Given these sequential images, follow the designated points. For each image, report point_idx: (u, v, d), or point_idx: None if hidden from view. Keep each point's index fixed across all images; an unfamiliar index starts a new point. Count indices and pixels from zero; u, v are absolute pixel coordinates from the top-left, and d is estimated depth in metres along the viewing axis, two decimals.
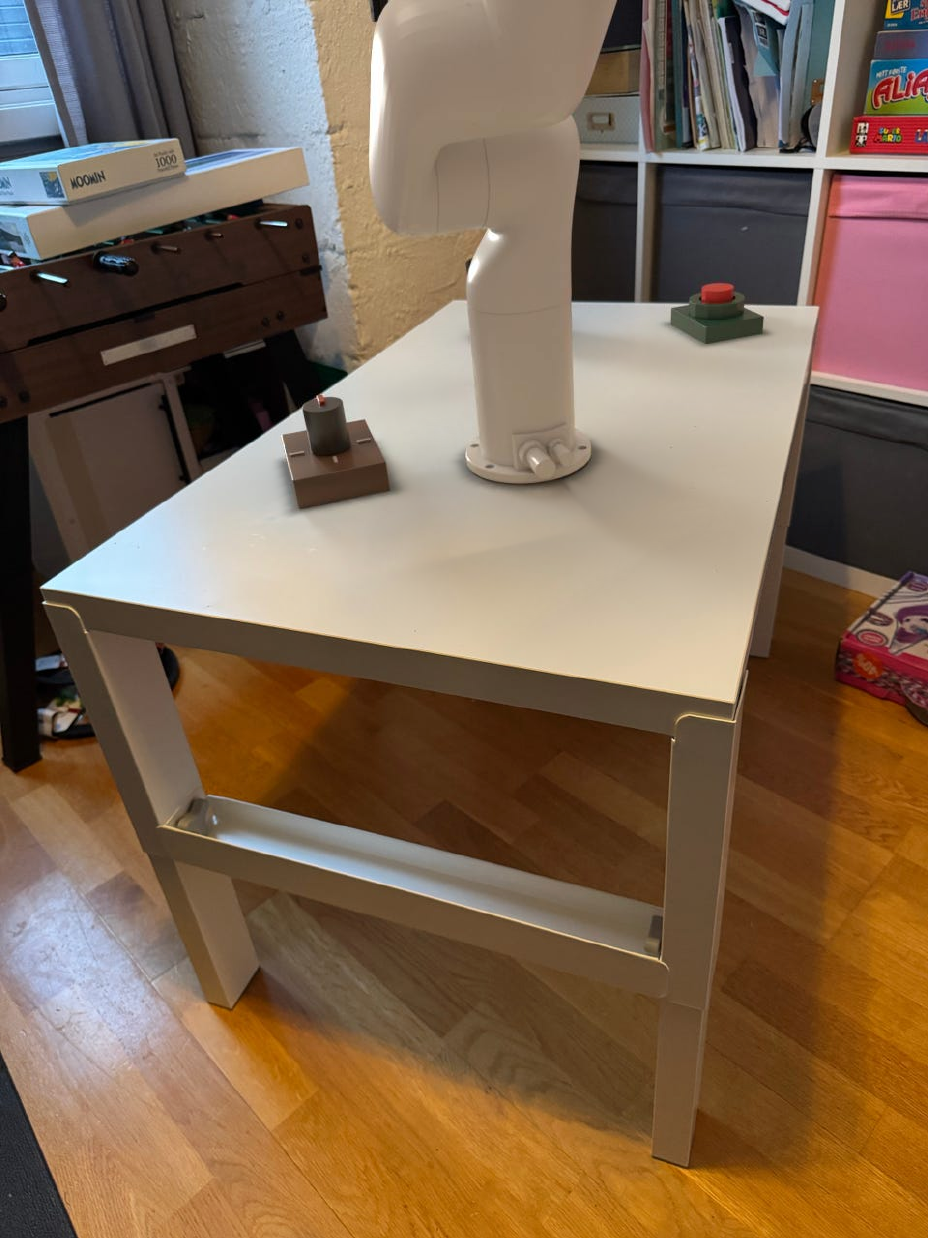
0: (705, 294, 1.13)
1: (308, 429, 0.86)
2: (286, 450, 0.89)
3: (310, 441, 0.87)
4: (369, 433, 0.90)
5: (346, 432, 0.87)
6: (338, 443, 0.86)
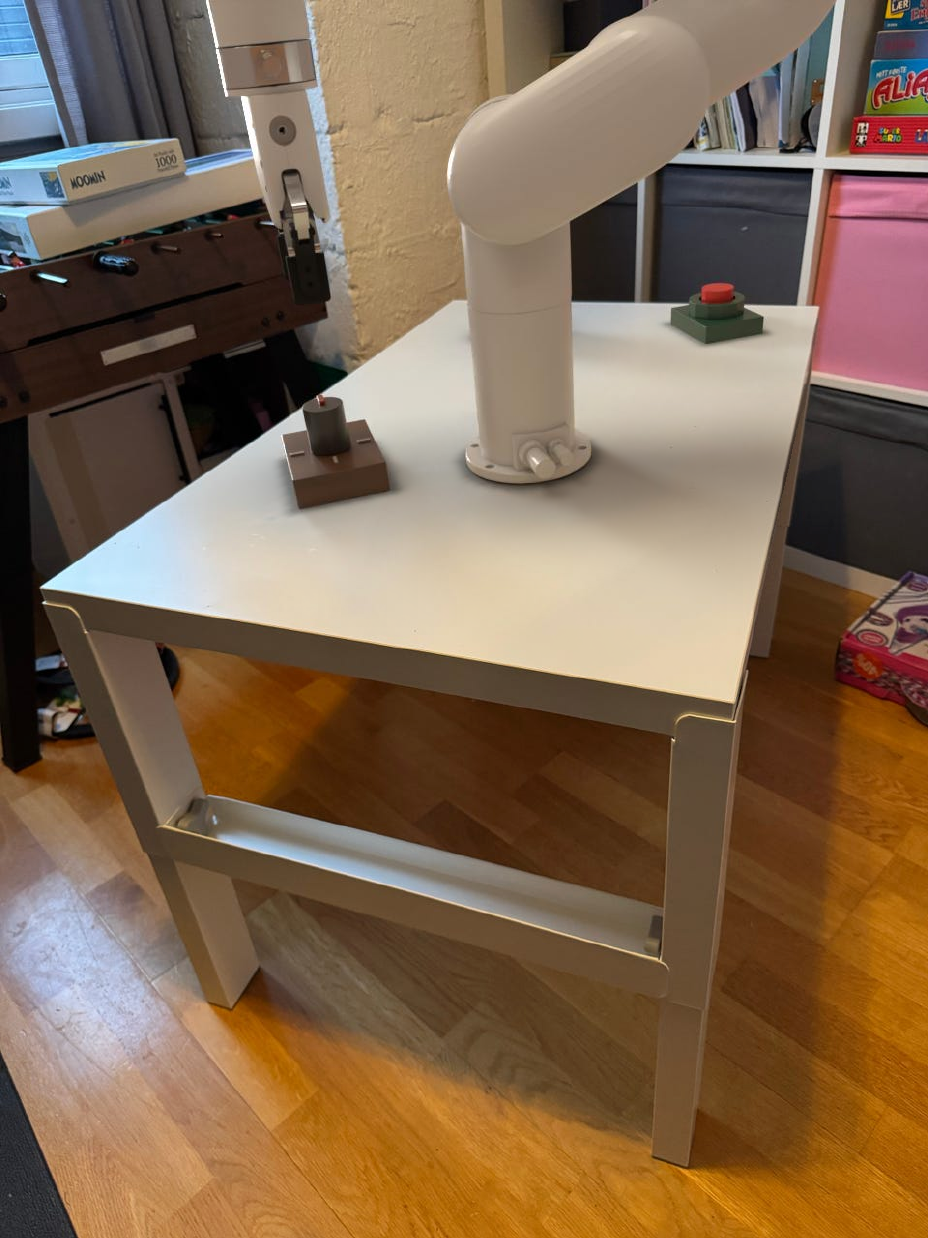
0: (705, 294, 1.13)
1: (308, 429, 0.86)
2: (286, 450, 0.89)
3: (310, 441, 0.87)
4: (369, 433, 0.90)
5: (346, 432, 0.87)
6: (338, 443, 0.86)
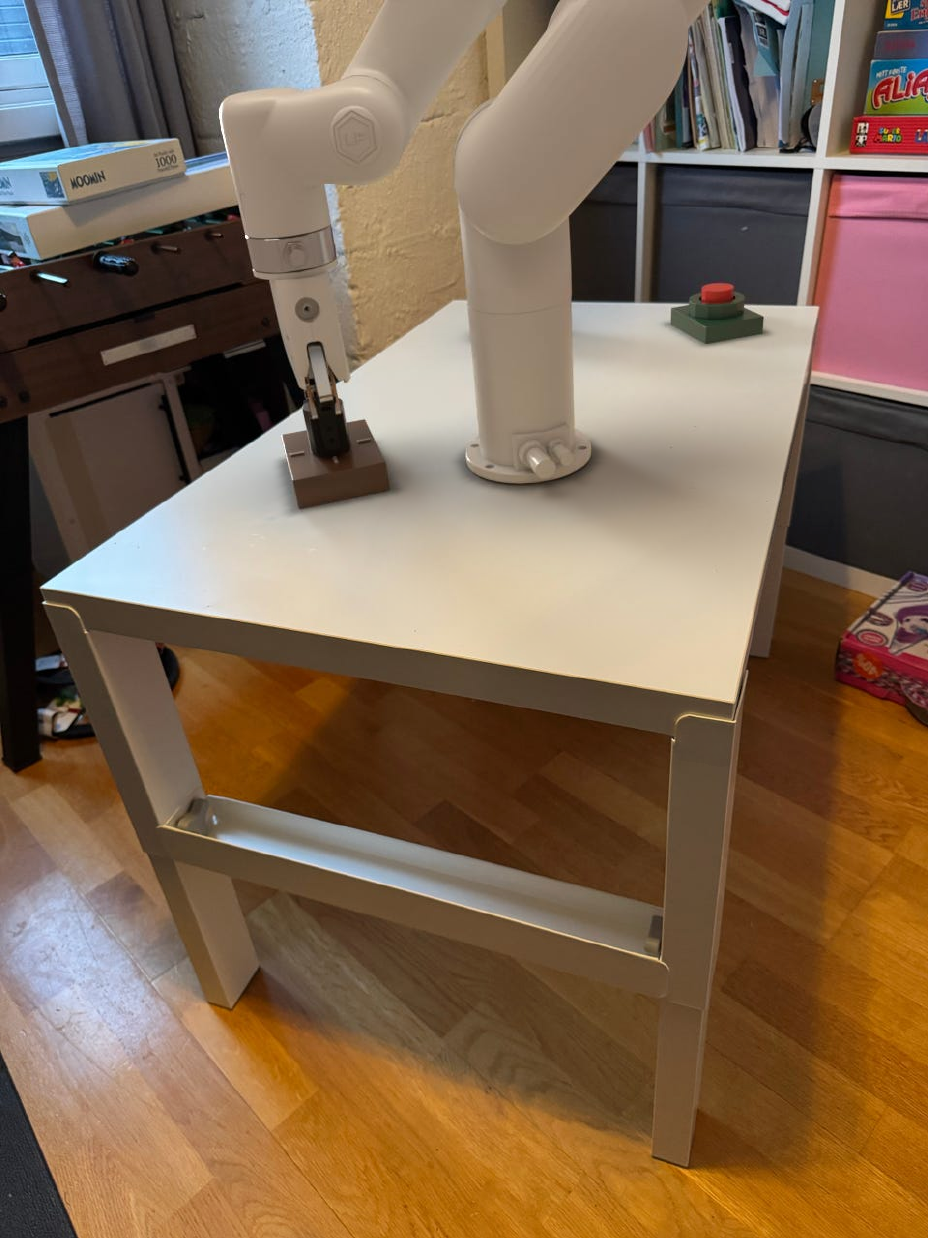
0: (705, 294, 1.13)
1: (308, 429, 0.86)
2: (286, 450, 0.89)
3: (310, 441, 0.87)
4: (369, 433, 0.90)
5: None
6: None
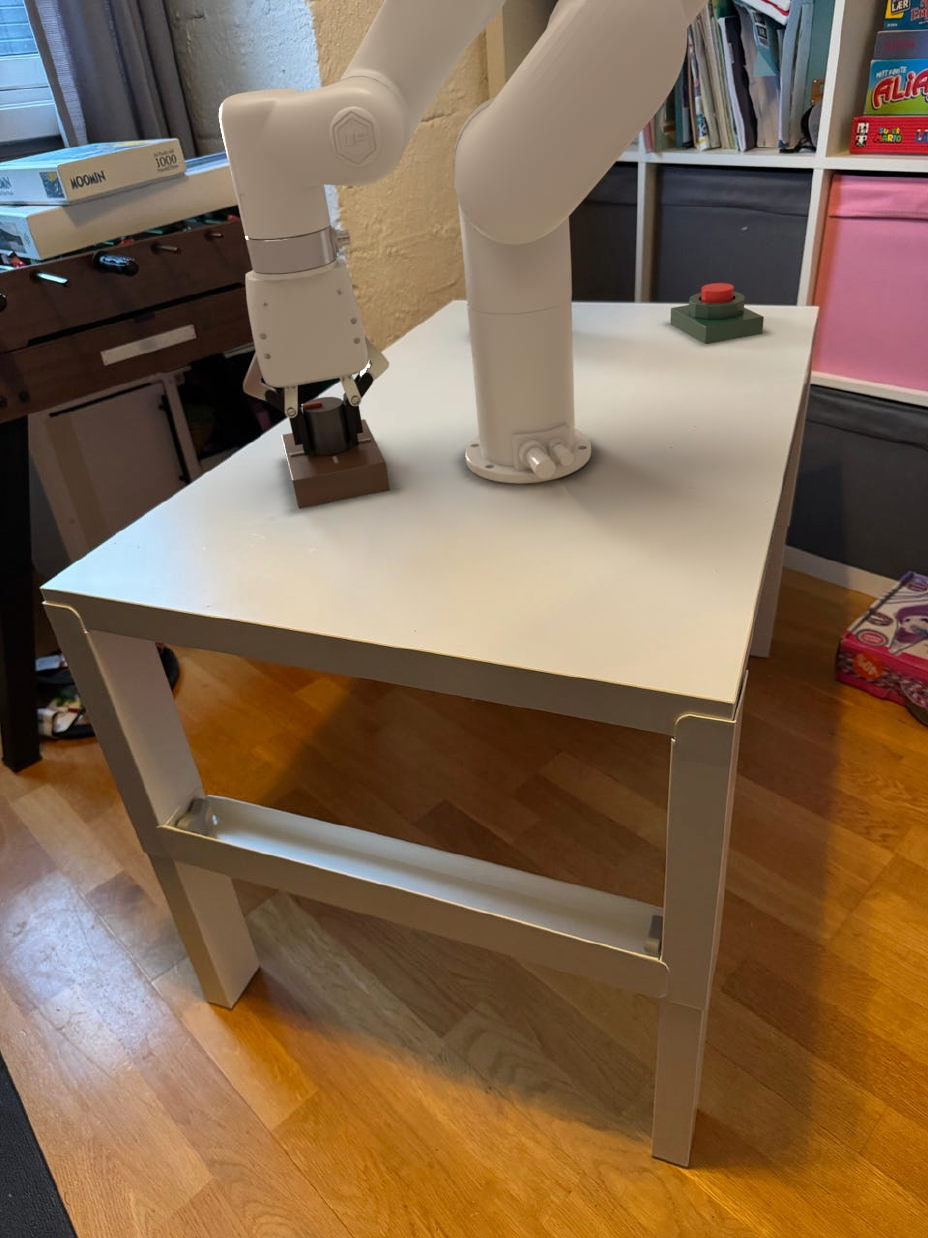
0: (705, 294, 1.13)
1: (336, 428, 0.85)
2: (286, 450, 0.89)
3: (338, 440, 0.86)
4: (369, 433, 0.90)
5: None
6: None
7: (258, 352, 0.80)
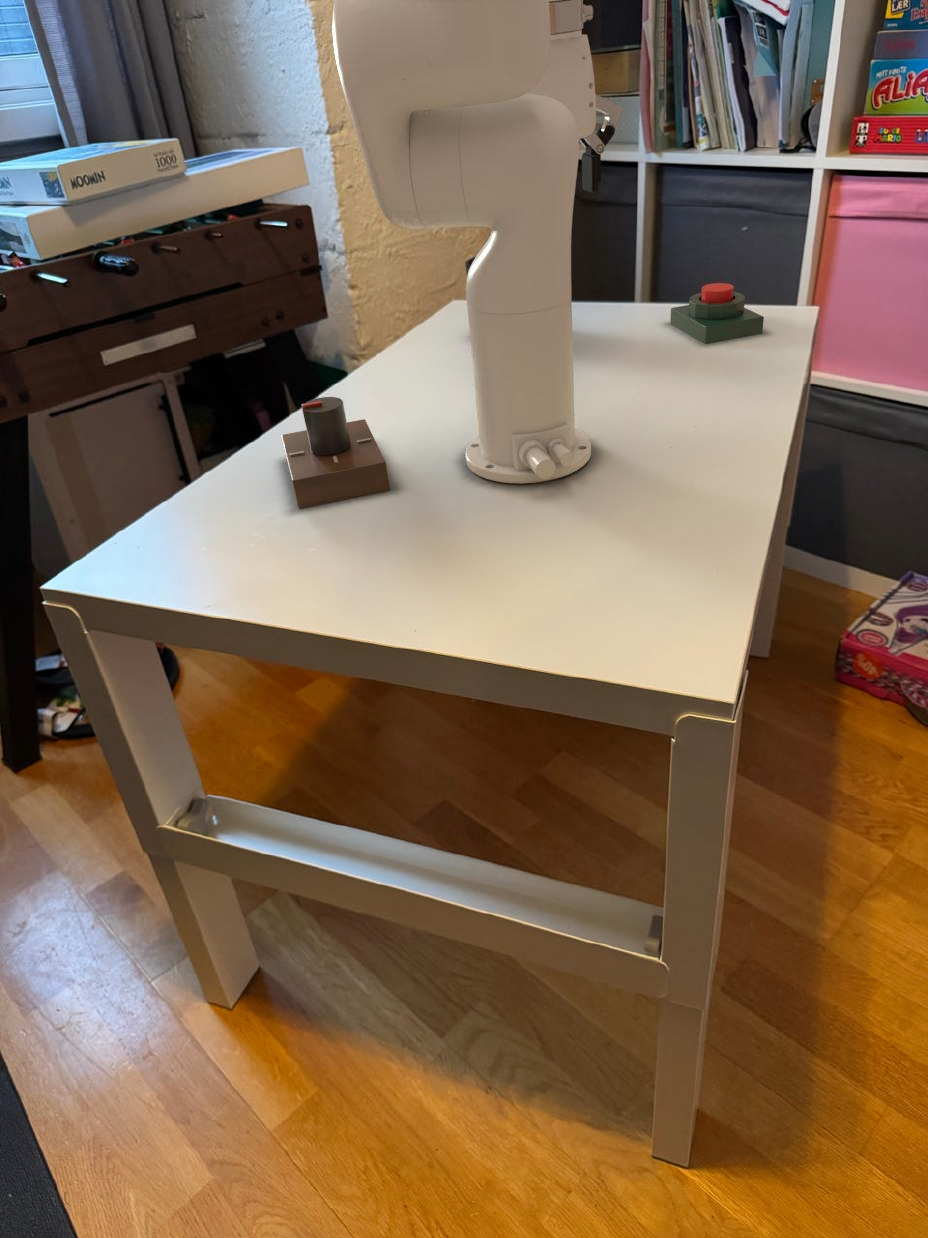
0: (705, 294, 1.13)
1: (336, 428, 0.85)
2: (286, 450, 0.89)
3: (338, 440, 0.86)
4: (369, 433, 0.90)
5: None
6: None
7: None
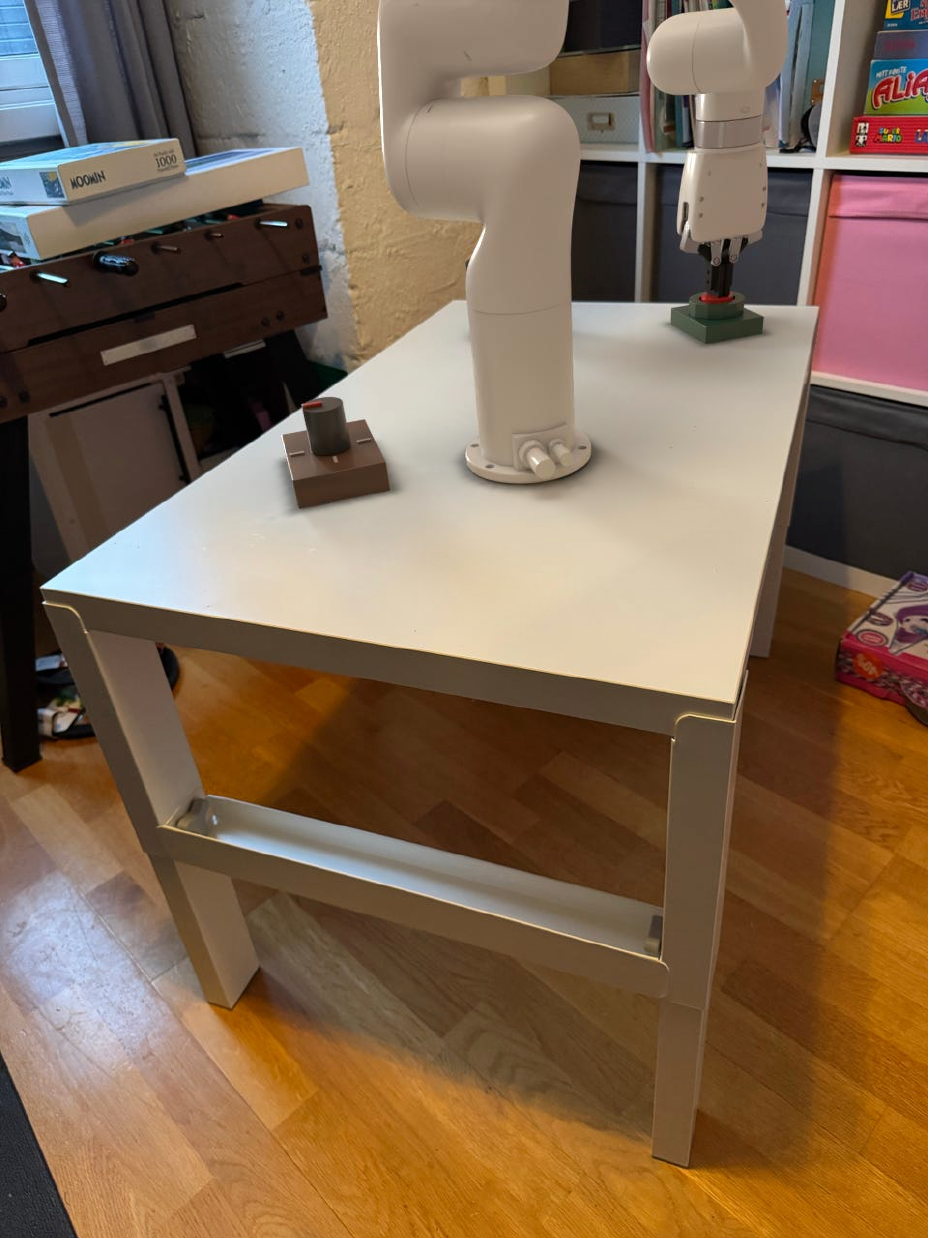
0: None
1: (336, 428, 0.85)
2: (286, 450, 0.89)
3: (338, 440, 0.86)
4: (369, 433, 0.90)
5: None
6: None
7: (693, 212, 1.06)
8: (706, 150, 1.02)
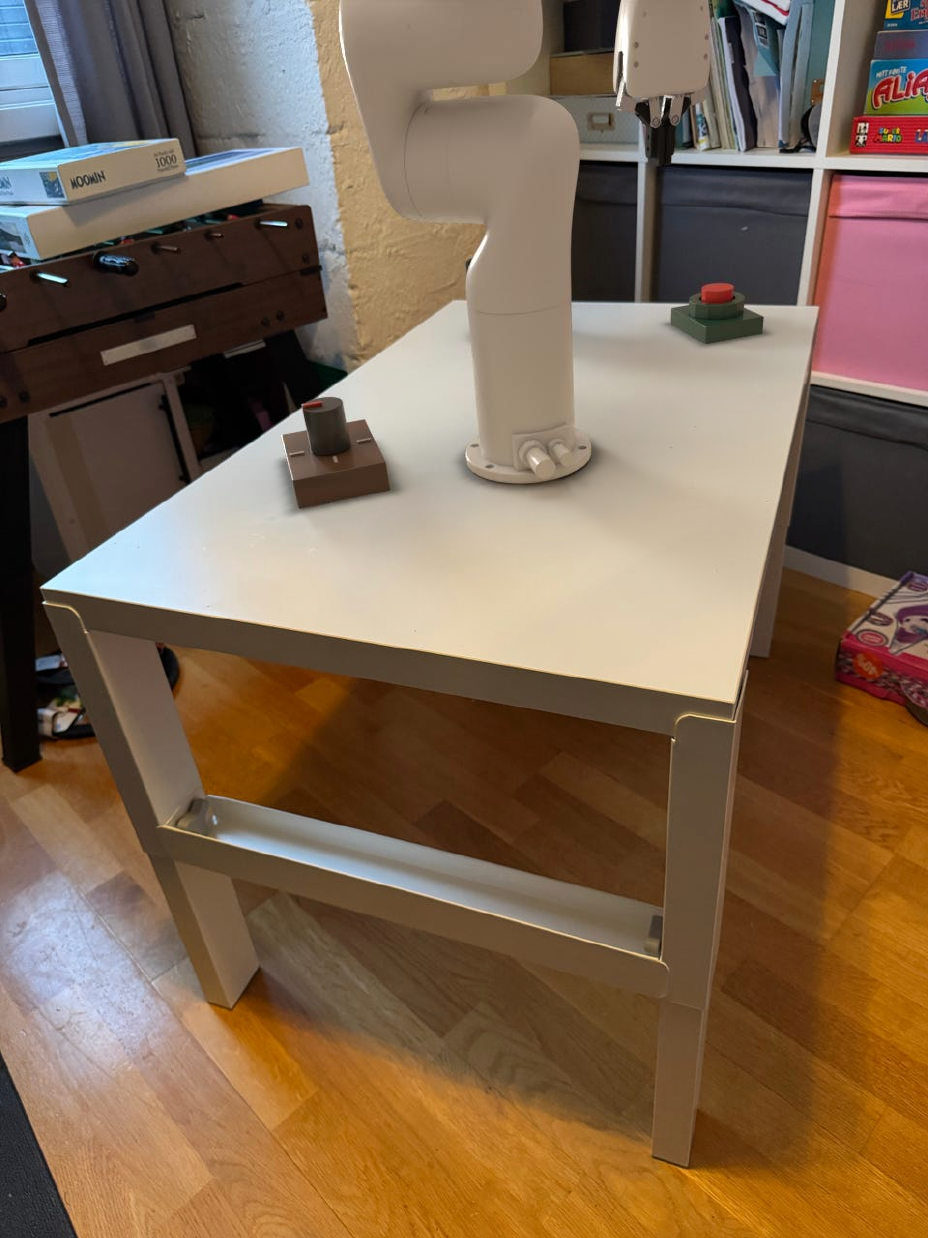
0: (705, 294, 1.13)
1: (336, 428, 0.85)
2: (286, 450, 0.89)
3: (338, 440, 0.86)
4: (369, 433, 0.90)
5: None
6: None
7: (628, 61, 0.96)
8: None
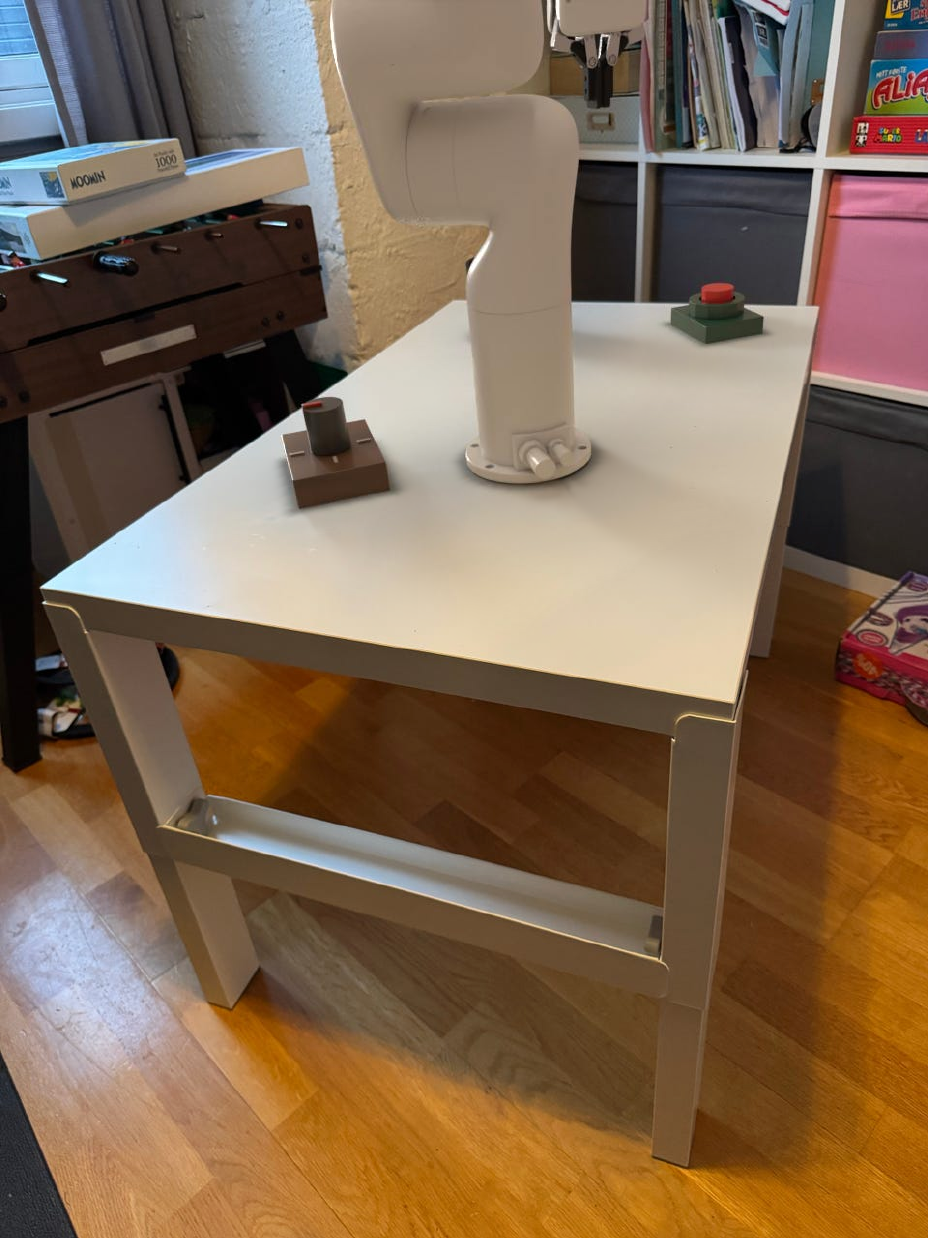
0: (705, 294, 1.13)
1: (336, 428, 0.85)
2: (286, 450, 0.89)
3: (338, 440, 0.86)
4: (369, 433, 0.90)
5: None
6: None
7: None
8: None
